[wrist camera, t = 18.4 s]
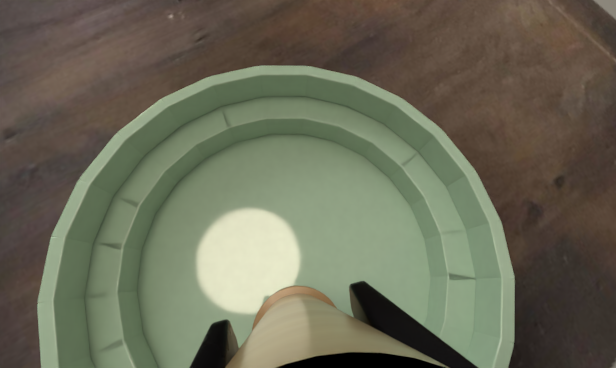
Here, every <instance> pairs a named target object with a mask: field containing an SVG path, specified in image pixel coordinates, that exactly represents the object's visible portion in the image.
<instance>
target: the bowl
mask: <svg viewBox="0 0 616 368" xmlns="http://www.w3.org/2000/svg"><path fill="white" fill-rule="evenodd" d="M79 179H80V180H78V181H77V183H76V186H75V188H74V190H73V192H72V194H71V196H70V198H69V200H68V202H67V204H66V206H65V208H64V210H63V213H62V215H61V217H60V219H59V221H58V223H57V225H56V227H55V229H54V231H53V233H52V237H51V238H50V243H49V248H48V253H47V257H46V262H45V267H44V272H43V277H42V282H41V287H40V292H39V297H38V304H37V312H38V327H39V343H40V359H41V368H189V367H190V365H191V363H192V361H193V359H194V357H195V355H196V353H197V351H198V349H199V347H200V345H201V343H202V341H203V339H204V337H205V335H206V333H207V331H208V329H209V327H210V326H211V324H212V323H214V322H217V321H221V320H224V319H228V320H229V321H230V323H231V325H232V328H233V331H234V333H235V336H236V339H237V342H238V348H240V347H241V345H242V344H243V343H244V341H245V340H246V339H247V337H248V336H249V335H250V333H251V332H252V327H253V323H254V320H255V317H256V315H257V313H258V311H259V309H260V307H261V306H262V305H263V303H264V302H265V301H266V300H267V299H268V298H269V297H270V296H272V295H273V294H274V293H275V292H277V291H279V290H281V289H283V288H285V287H289V286H306V287H310V288H314V289H316V290H318V291H320V292H322V293H323V294H325V295H326V296H327V297H328V298H329V299H330V300H331V301H332V302H333V303H334V305H335V306H336V307H337V309H339V310H340V311H342V312H344V313H346V314H348V315H350V316H352V317H354V316H353V313H352V309H351V303H350V293H349V285H350V284H352V283H356V282H359V281H365V282H367V283H368V284H369V285H371V286H372V287H373V288H374V289H376V290H377V291H378V292H380V293H381V294H382V295H384V296H385V297H386V298H388V299H389V300H390V301H392V302H393V303H394V304H396V305H397V306H398V307H399V308H401V309H402V310H403V311H405V312H406V313H407V314H409V315H410V316H411V317H413V318H414V319H415V320H417V321H418V322H419V323H420V324H422V325H423V326H424V327H426V328H427V329H428V330H430V331H431V332H432V333H434V334H435V335H436V336H438V337H439V338H440V339H441V340H443V341H444V342H445V343H447V344H448V345H449V346H451V347H452V348H453V349H455V350H456V351H457V352H459V353H460V354H461V355H462V356H464V357H465V358H466V359H468V360H469V361H470V362H472V363H473V364H474V365H476V366H477V367H478V368H508V366H509V362H510V359H511V355H512V351H513V347H514V344H513V343H514V335H515V280H514V279H515V277H514V273H513V269H512V265H511V260H510V256H509V252H508V248H507V243H506V239H505V235H504V231H503V227H502V222H501V221H500V218H499V216H498V214H497V212H496V210H495V208H494V206H493V204H492V202H491V200H490V198H489V196H488V194H487V192H486V190H485V188H484V186H483V184H482V182H481V180H480V178H479V176H478V174H477V172H476V171H475V169H474V168H473V167H472V165H471V164H470V163H469V162H468V161H467V159H466V158H465V157H464V156H463V154H462V153H461V152H460V151H459V150H458V148H457V147H456V146H455V145H454V143H453V142H452V141H451V140H450V139H449V137H448V136H447V135H446V134H445V133H444V131H443V130H441V128H440V127H438V126H437V125H436V124H435V123H433V122H432V121H431V120H429V119H428V118H427V117H426V116H424V115H423V114H422V113H420V112H419V111H418V110H417V109H415V108H414V107H413V106H411V105H410V104H409V103H408V102H406V101H405V100H404V99H402V98H401V97H399V96H396V95H394V94H392V93H390V92H388V91H386V90H384V89H382V88H380V87H377V86H375V85H373V84H371V83H369V82H367V81H365V80H363V79H360V78H358V77H355V76H351V75H347V74H342V73H338V72H334V71H329V70H325V69H320V68H316V67H311V66H309V67H308V66H255V67H250V68H245V69H241V70H236V71H232V72H227V73H223V74H218V75H213V76H210V77H207V78H205V79H202V80H200V81H198V82H196V83H194V84H192V85H189V86H187V87H185V88H183V89H181V90H179V91H177V92H174V93H172V94H170V95H168V96H166V97H164V98H162V99H161V100H159V101H157V102H156V103H155V104H153V105H152V106H151V107H149V108H148V109H147V110H146V111H144V112H143V113H142V114H140V115H139V116H138V117H137V118H135V119H134V120H133V121H131V122H130V123H129V124H127V125H126V126H125V127H124V128H122V129H121V130H120V131H118V132H117V134H115V135H114V137H113V138H112V139H111V140H110V141H109V143H108V144H107V145H106V146H105V148H104V149H103V150H102V151H101V152H100V154H99V155H98V156H97V157H96V159H95V160H94V161H93V162H92V164H91V165H90V166H89V167H88V168H87V170H86V171H85V172H84V173H83V175H82V176H81V177H80V178H79Z"/></svg>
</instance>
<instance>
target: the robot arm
mask: <svg viewBox="0 0 616 368" xmlns="http://www.w3.org/2000/svg"><path fill="white" fill-rule="evenodd" d="M349 293H350V303H351V309H352V313H353V316H354V318H356V319H358V320H360V321H361V322H363V323H365V324H367V325H369V326H371V327H373V328H375V329H377V330H379V331H381V332H382V333H384V334H386V335H388V336H390V337H392V338H394V339H396V340H398V341H400V342H401V343H403V344H405V345H407V346H409V347H411V348H413V349H415V350H417V351H419V352H421V353H422V354H424V355H426V356H428V357H430V358H432V359H434V360H436V361H438V362H440V363H442V364H443V365H445V366H447V367H449V368H478V367H477V366H476V365H474V364H473V363H472V362H470V361H469V360H468V359H466V358H465V357H464V356H462V355H461V354H460V353H459V352H457V351H456V350H455V349H453V348H452V347H451V346H449V345H448V344H447V343H445V342H444V341H443V340H441V339H440V338H439V337H438V336H436V335H435V334H434V333H432V332H431V331H430V330H428V329H427V328H426V327H424V326H423V325H422V324H420V323H419V322H418V321H417V320H415V319H414V318H413V317H411V316H410V315H409V314H407V313H406V312H405V311H403V310H402V309H401V308H399V307H398V306H397V305H396V304H394V303H393V302H392V301H390V300H389V299H388V298H386V297H385V296H384V295H382V294H381V293H380V292H378V291H377V290H376V289H374V288H373V287H372V286H371V285H369V284H368V283H367V282H365V281H359V282H356V283H352V284H350V285H349ZM238 350H239V348H238V342H237V339H236V336H235V333H234V331H233V328H232V325H231V323H230V321H229V320H228V319H224V320H221V321H217V322H214V323H212V324H211V326H210V327H209V329H208V331H207V333H206V335H205V337H204V339H203V341H202V343H201V345H200V347H199V349H198V351H197V353H196V355H195V357H194V359H193V361H192V363H191V365H190V367H189V368H225V367H226V366H227V364H228V363H229V362H230V360H231V359H232V358H233V356H234V355H235V354H236V352H237V351H238ZM367 355H368V358H369V361H370V363H371V366H372V368H379V367H380V357H379V355H378V353H372V352H367Z"/></svg>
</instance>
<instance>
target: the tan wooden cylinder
mask: <svg viewBox="0 0 616 368" xmlns="http://www.w3.org/2000/svg"><path fill="white" fill-rule="evenodd" d="M367 352H372V353H378V355H379V357H380V367H379V368H449V367H447V366H445V365H443V364H442V363H440V362H438V361H436V360H434V359H432V358H430V357H428V356H426V355H424V354H422V353H421V352H419V351H417V350H415V349H413V348H411V347H409V346H407V345H405V344H403V343H401V342H400V341H398V340H396V339H394V338H392V337H390V336H388V335H386V334H384V333H382V332H381V331H379V330H377V329H375V328H373V327H371V326H369V325H367V324H365V323H363V322H361V321H360V320H358V319H356V318H354V317H352V316H350V315H348V314H346V313H344V312H342V311H340V310H339V309H337V307H336V306H335V305H334V303H333V302H332V301H331V300H330V299H329V298H328V297H327V296H326V295H325V294H323V293H322V292H320V291H318V290H316V289H314V288H310V287H306V286H289V287H285V288H283V289H281V290H279V291H277V292H275V293H274V294H273V295H272V296H270V297H269V298H268V299H267V300H266V301H265V302H264V303H263V305H262V306H261V307H260V309H259V311H258V313H257V315H256V317H255V320H254V323H253V327H252V332H251V333H250V335H249V336H248V337H247V339H246V340H245V341H244V343H243V344H242V345H241V347H240V348H239V350H238V351H237V352H236V354H235V355H234V356H233V358H232V359H231V360H230V362H229V363H228V364H227V366H226V367H225V368H372V366H371V363H370V361H369V358H368V355H367Z"/></svg>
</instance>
